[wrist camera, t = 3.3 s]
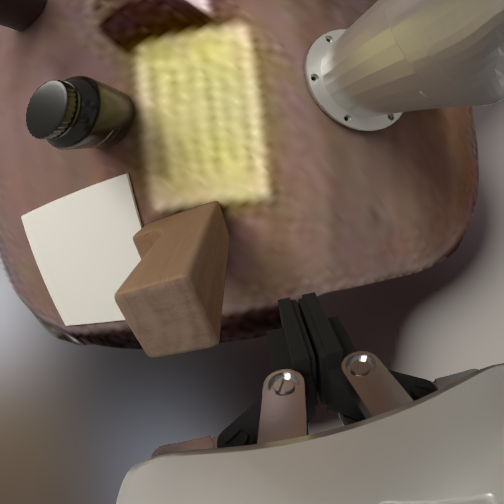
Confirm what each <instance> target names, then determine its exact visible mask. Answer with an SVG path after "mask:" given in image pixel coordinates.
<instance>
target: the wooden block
mask: <svg viewBox="0 0 504 504" xmlns="http://www.w3.org/2000/svg"><path fill="white" fill-rule="evenodd" d="M229 240H230V234H229V231H228V228H227V225H226V222H225V219H224V216H223V213H222V210H221V207H220V204H219V203H218V201H214V202H211V203H207V204H204V205H201V206H198V207H195V208H192V209H189V210H186V211H183V212H180V213H177V214H174V215H171V216H168V217H166V218H163V219H160V220H157V221H154V222H151V223H149V224H146V225H145V226H144V227H143V228H142V229H141V230H139V231H138V232H137V233H136V234H135V235H134V236H133V241H134V244H135V246H136V248H137V251H138V253H139V255H140V258H141V261H140V262H139V263H138V264H137V266H136V267H135V268H134V269H133V271H132V272H131V273H130V275H129V276H128V277H127V278H126V280H125V281H124V282H123V284H122V285H121V286H120V288H119V289H118V290H117V291H116V293H115V296H114V297H115V302H116V304H117V305H118V307H119V309H120V311H121V313H122V314H123V316H124V318H125V320H126V321H127V323H128V325H129V326H130V328H131V330H132V331H133V333H134V335H135V336H136V338H137V340H138V341H139V343H140V344H141V346H142V348H143V349H144V351H145V352H146V354H147V355H148V356H150V357H153V358H154V357H161V356H167V355H173V354H178V353H184V352H189V351H194V350H200V349H204V348H209V347H214V346H215V345H217V344H218V343H219V336H220V325H221V315H222V305H223V295H224V285H225V276H226V267H227V258H228V249H229Z"/></svg>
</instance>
